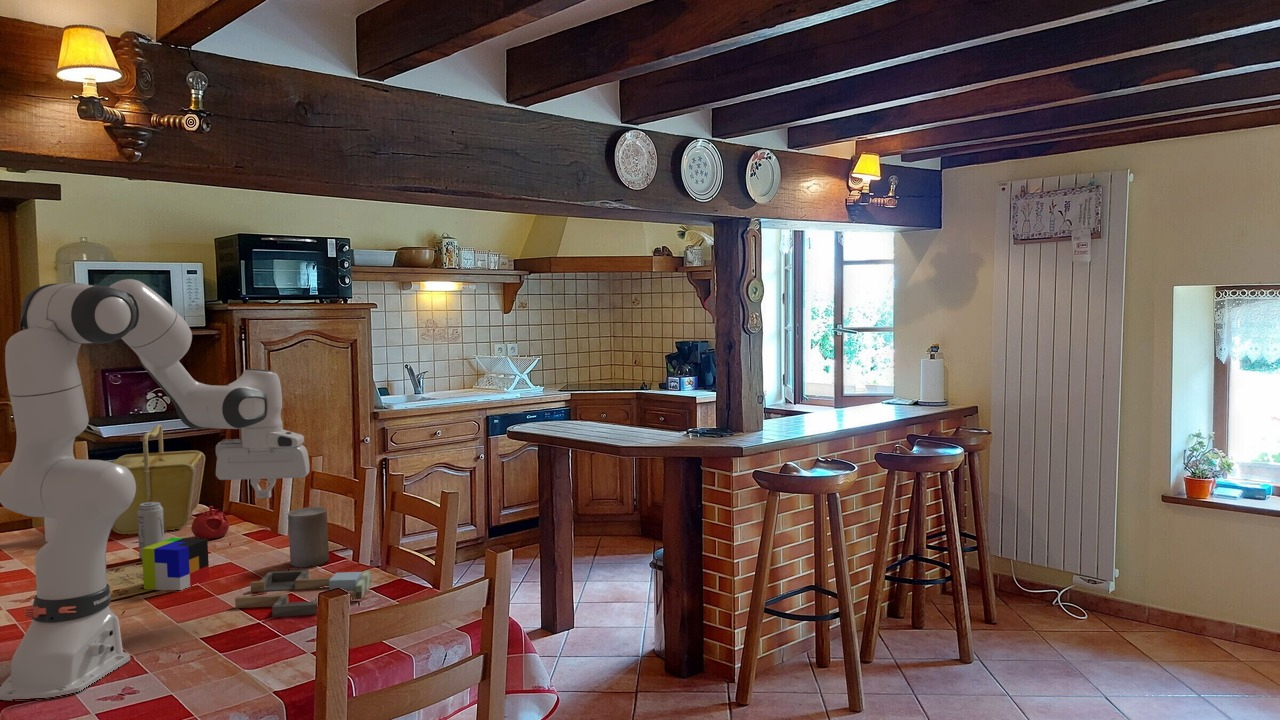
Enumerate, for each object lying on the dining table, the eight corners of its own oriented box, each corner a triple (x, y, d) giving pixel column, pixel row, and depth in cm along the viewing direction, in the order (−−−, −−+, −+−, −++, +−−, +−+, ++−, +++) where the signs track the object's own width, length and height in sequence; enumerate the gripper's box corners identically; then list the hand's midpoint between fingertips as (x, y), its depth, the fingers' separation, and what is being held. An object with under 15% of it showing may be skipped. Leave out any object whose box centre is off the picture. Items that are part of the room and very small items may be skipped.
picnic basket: (119, 517, 283) (115, 425, 281) (207, 509, 292) (204, 420, 290) (99, 539, 256) (94, 437, 254) (197, 530, 265) (193, 432, 263)
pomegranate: (184, 541, 253) (182, 509, 252) (210, 532, 262) (208, 501, 262) (212, 542, 250) (210, 510, 249) (237, 533, 259) (235, 502, 259)
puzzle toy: (180, 591, 207) (178, 550, 206) (143, 589, 209) (141, 548, 208) (209, 578, 216) (207, 539, 216) (174, 576, 218) (172, 537, 218)
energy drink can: (163, 560, 233) (161, 504, 232) (137, 563, 230) (135, 507, 229) (166, 554, 238) (164, 500, 237) (141, 557, 236) (139, 502, 235)
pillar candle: (334, 556, 234) (331, 501, 233) (322, 567, 224) (319, 509, 224) (297, 557, 234) (295, 502, 233) (284, 568, 224) (281, 511, 223)
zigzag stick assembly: (355, 612, 191) (355, 596, 191) (224, 619, 187) (224, 603, 187) (375, 575, 217) (375, 561, 217) (261, 581, 214) (260, 567, 213)
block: (356, 598, 200) (355, 579, 200) (329, 599, 200) (328, 580, 200) (362, 590, 206) (361, 571, 206) (336, 591, 206) (335, 572, 206)
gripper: (210, 441, 198) (211, 501, 198) (303, 439, 200) (305, 499, 201) (220, 437, 204) (221, 496, 205) (310, 435, 206) (312, 493, 207)
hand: (263, 497), depth 203 cm, fingers closed
